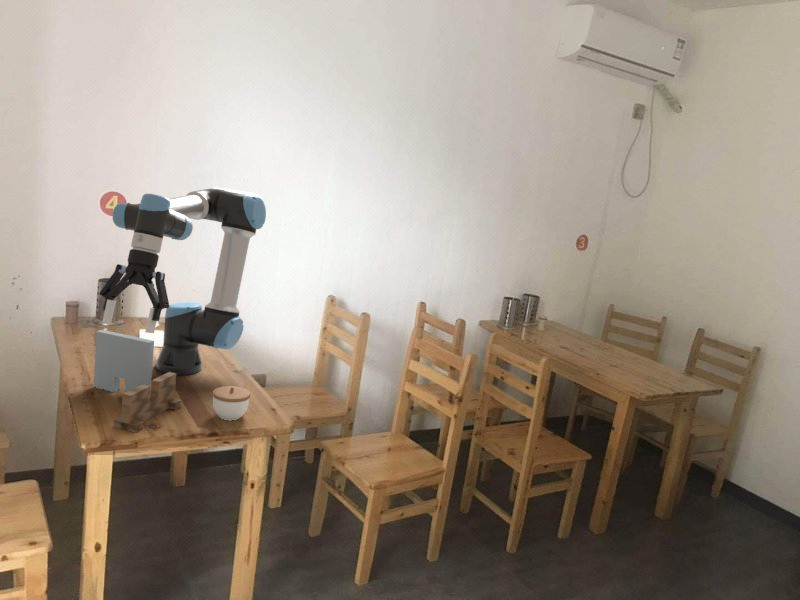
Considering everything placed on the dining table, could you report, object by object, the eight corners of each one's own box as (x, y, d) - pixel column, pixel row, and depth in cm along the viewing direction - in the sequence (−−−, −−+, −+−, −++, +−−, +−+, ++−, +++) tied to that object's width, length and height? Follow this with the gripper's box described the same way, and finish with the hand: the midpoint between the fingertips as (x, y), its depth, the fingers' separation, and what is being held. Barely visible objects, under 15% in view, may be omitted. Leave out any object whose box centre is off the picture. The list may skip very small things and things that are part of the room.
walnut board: (160, 401, 198) (162, 370, 196) (180, 406, 196) (183, 375, 194) (113, 426, 176) (115, 392, 174) (135, 432, 175) (138, 397, 173)
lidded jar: (233, 407, 201) (236, 378, 200) (255, 419, 195) (258, 389, 193) (203, 414, 193) (206, 384, 191) (225, 426, 187) (228, 396, 185)
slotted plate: (93, 387, 201) (96, 331, 198) (99, 384, 203) (102, 329, 200) (145, 399, 198) (149, 342, 194) (150, 397, 200) (154, 340, 196)
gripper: (96, 241, 176) (79, 318, 174) (177, 255, 170) (159, 335, 168) (115, 247, 183) (98, 321, 182) (192, 260, 177) (176, 337, 175)
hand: (127, 328), depth 175 cm, fingers open, 13 cm apart
